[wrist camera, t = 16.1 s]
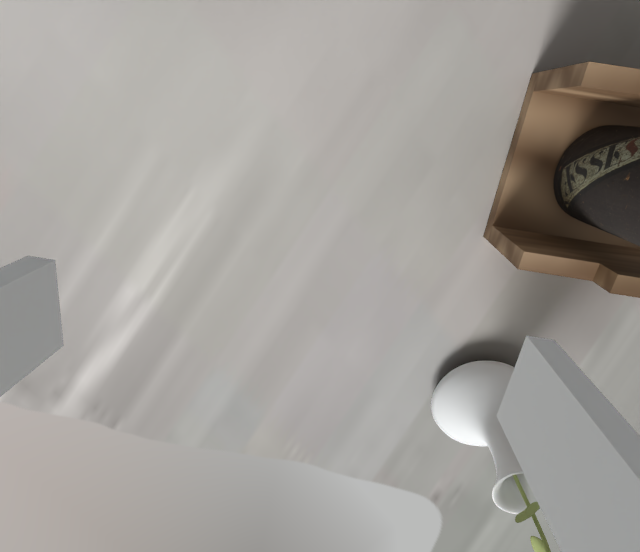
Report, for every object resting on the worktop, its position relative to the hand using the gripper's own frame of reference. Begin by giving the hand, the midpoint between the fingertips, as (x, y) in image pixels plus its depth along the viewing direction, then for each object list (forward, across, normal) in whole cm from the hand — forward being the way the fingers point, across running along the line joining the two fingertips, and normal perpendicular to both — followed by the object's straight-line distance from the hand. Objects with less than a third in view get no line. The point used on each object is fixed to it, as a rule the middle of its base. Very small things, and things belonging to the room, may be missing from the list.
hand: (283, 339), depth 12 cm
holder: (+32, +24, +4) cm, 40 cm away
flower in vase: (+32, +21, -23) cm, 45 cm away
